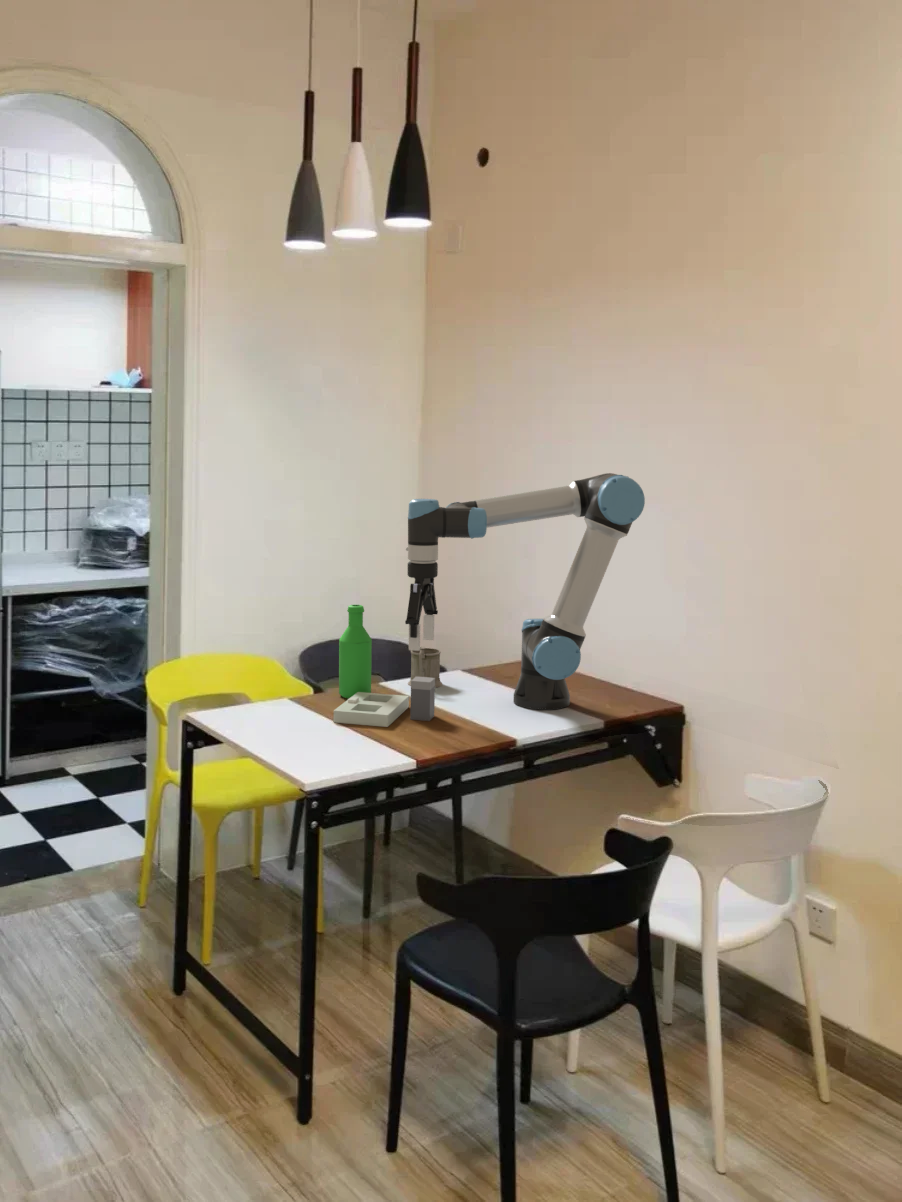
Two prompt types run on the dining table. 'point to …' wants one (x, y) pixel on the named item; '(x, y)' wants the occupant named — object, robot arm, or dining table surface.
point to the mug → (426, 664)
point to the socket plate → (371, 709)
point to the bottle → (355, 655)
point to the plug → (422, 698)
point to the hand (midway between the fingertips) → (421, 645)
